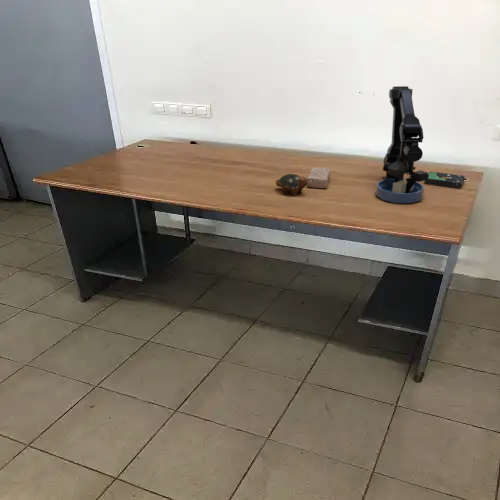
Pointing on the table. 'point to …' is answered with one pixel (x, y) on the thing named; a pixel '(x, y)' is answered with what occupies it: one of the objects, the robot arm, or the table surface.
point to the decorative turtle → (292, 183)
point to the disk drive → (445, 179)
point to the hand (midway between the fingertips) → (402, 191)
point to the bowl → (402, 198)
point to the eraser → (401, 187)
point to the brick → (319, 177)
